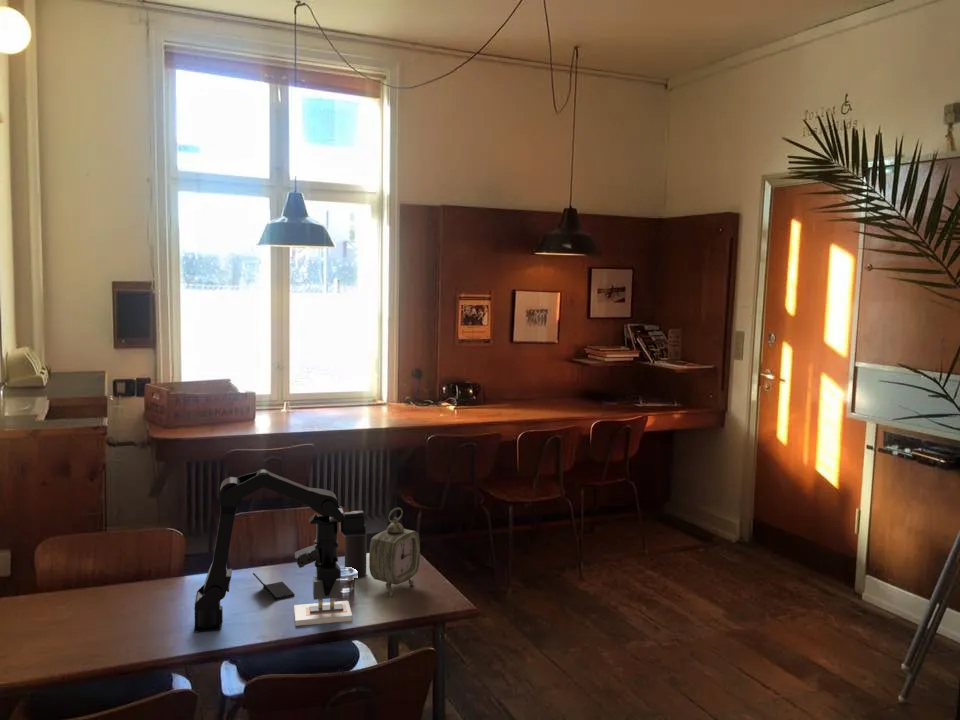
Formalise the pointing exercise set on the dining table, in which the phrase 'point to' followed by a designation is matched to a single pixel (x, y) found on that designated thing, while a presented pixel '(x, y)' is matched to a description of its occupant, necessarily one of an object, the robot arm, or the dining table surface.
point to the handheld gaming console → (277, 590)
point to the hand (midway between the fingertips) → (326, 592)
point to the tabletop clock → (394, 554)
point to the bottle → (356, 553)
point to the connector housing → (319, 590)
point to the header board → (322, 612)
